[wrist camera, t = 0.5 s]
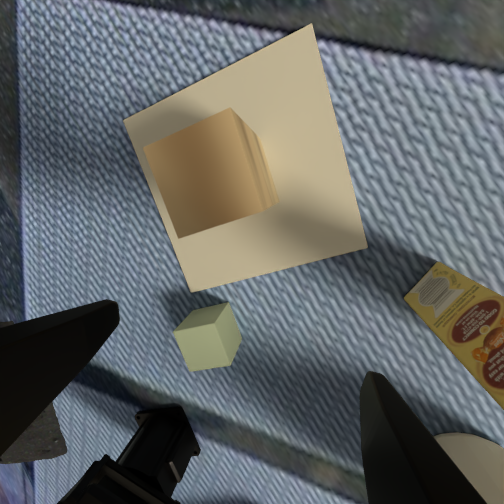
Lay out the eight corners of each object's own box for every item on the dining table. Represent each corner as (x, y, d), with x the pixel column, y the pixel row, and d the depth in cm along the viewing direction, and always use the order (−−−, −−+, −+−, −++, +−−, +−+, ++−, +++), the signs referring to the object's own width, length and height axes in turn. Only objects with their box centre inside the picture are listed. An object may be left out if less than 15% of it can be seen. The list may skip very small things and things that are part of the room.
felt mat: (193, 290, 24) (191, 292, 24) (127, 122, 22) (122, 120, 21) (366, 246, 20) (368, 247, 20) (311, 28, 17) (311, 23, 17)
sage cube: (206, 344, 26) (189, 371, 22) (193, 309, 25) (172, 331, 21) (242, 337, 25) (230, 365, 21) (228, 301, 24) (214, 323, 20)
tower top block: (205, 227, 18) (178, 238, 14) (179, 156, 17) (142, 147, 13) (273, 205, 16) (263, 211, 12) (249, 126, 15) (230, 107, 12)
